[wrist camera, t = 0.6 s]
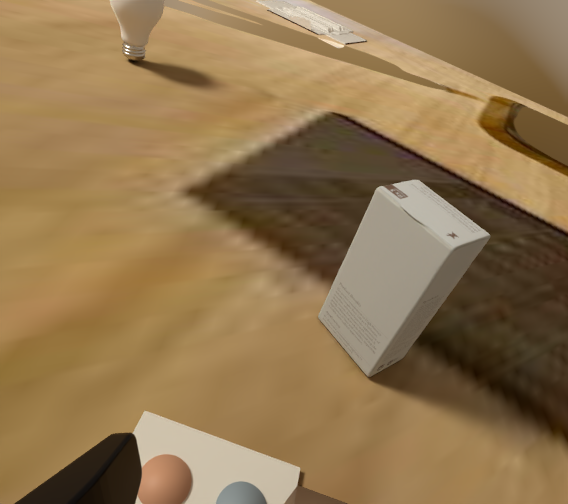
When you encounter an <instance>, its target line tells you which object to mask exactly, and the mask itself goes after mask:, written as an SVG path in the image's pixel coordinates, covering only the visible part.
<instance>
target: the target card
mask: <svg viewBox="0 0 568 504" xmlns="http://www.w3.org/2000/svg"><path fill="white" fill-rule="evenodd" d="M133 434H134V435H135V437H136V440H137V445H138V450H139V455H140V461H141V466H142V479H141V484H140V487H139V491H138V495H137V499H136V503H135V504H284V503H285V501H286V500H287V499H288V497H289V496H290V495H291V493H292V492H293V491H294V490H295V488H296V487H297V484H298V479H299V473H300V468H299V467H297V466H294V465H291V464H289V463H286V462H283V461H280V460H278V459H275V458H272V457H270V456H267V455H264V454H261V453H259V452H256V451H253V450H251V449H248V448H245V447H242V446H240V445H237V444H234V443H232V442H229V441H226V440H223V439H221V438H218V437H215V436H213V435H210V434H207V433H204V432H202V431H199V430H196V429H194V428H191V427H188V426H185V425H183V424H180V423H177V422H175V421H172V420H169V419H166V418H164V417H161V416H158V415H156V414H153V413H150V412H147V411H144V413H143V415H142V417H141V419H140V421H139V422H138V424H137V426H136V428H135V430H134V432H133Z"/></svg>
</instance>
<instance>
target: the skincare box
mask: <svg viewBox="0 0 568 504" xmlns="http://www.w3.org/2000/svg"><path fill="white" fill-rule="evenodd" d="M489 238H490V234H489V233H487V232H486V231H485V230H483V229H482V228H481V227H479V226H478V225H477V224H475V223H474V222H473V221H471V220H470V219H469V218H468V217H466V216H465V215H464V214H462V213H461V212H460V211H458V210H457V209H456V208H454V207H453V206H452V205H450V204H449V203H448V202H446V201H445V200H444V199H442V198H441V197H440V196H438V195H437V194H436V193H435V192H433V191H432V190H431V189H429V188H428V187H427V186H425V185H424V184H423V183H422V182H420V181H419V180H411V181H406V182H401V183H396V184H392V185H387V186H381V187H378V188H377V189H376V191H375V193H374V195H373V198H372V200H371V202H370V204H369V207H368V209H367V211H366V213H365V215H364V217H363V220H362V222H361V224H360V226H359V229H358V231H357V233H356V235H355V237H354V239H353V242H352V244H351V246H350V248H349V250H348V252H347V255H346V257H345V259H344V261H343V263H342V265H341V267H340V270H339V272H338V274H337V276H336V278H335V281H334V283H333V285H332V287H331V289H330V292H329V294H328V296H327V298H326V300H325V302H324V305H323V307H322V309H321V311H320V313H319V315H318V318H319V320H320V321H321V322H322V323H323V324H324V325H325V327H326V328H327V329H328V330H329V331H330V332H331V334H332V335H333V336H334V337H335V338H336V340H337V341H338V342H339V343H340V344H341V346H342V347H343V348H344V349H345V350H346V352H347V353H348V354H349V355H350V356H351V358H352V359H353V360H354V361H355V362H356V364H357V365H358V366H359V367H360V368H361V370H362V371H363V372H364V373H365V374H366V375H367V376H368V377H371V376H373V375H374V374H376V373H378V372H380V371H382V370H383V369H385V368H387V367H389V366H390V365H392V364H394V363H396V362H397V361H399V360H401V359H402V358H404V356H405V355H406V354H407V352H408V350H409V349H410V348H411V346H412V345H413V343H414V342H415V341H416V339H417V338H418V337H419V335H420V334H421V333H422V331H423V330H424V328H425V327H426V326H427V324H428V323H429V321H430V320H431V319H432V317H433V316H434V315H435V313H436V312H437V310H438V309H439V308H440V306H441V305H442V303H443V302H444V301H445V299H446V298H447V297H448V295H449V294H450V292H451V291H452V290H453V288H454V287H455V286H456V284H457V283H458V281H459V280H460V279H461V277H462V276H463V275H464V273H465V272H466V270H467V269H468V267H469V266H470V264H471V263H472V261H473V260H474V259H475V257H476V256H477V255H478V254H479V252H480V251H481V250H482V248H483V247H484V245H485V244H486V243H487V241H488V240H489Z"/></svg>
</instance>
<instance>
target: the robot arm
mask: <svg viewBox="0 0 568 504" xmlns="http://www.w3.org/2000/svg"><path fill="white" fill-rule="evenodd" d="M141 479H142V466H141V461H140V455H139V450H138V445H137V440H136V437H135V435H134V434H133V433H115V434H111V435H110V436H108V437H107V438H105V439H104V440H103V441H101V442H100V443H98V444H97V445H96V446H94V447H93V448H92V449H90V450H89V451H87V452H86V453H85V454H83V455H82V456H80V457H79V458H78V459H76V460H75V461H73V462H72V463H71V464H69V465H68V466H66V467H65V468H64V469H62V470H61V471H59V472H58V473H57V474H55V475H54V476H52V477H51V478H50V479H48V480H47V481H45V482H44V483H43V484H41V485H40V486H38V487H37V488H36V489H34V490H33V491H31V492H30V493H29V494H27V495H26V496H24V497H23V498H22V499H20V500H19V501H17V502H16V503H15V504H135V503H136V499H137V495H138V491H139V487H140V484H141Z"/></svg>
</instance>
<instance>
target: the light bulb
mask: <svg viewBox="0 0 568 504" xmlns="http://www.w3.org/2000/svg"><path fill="white" fill-rule="evenodd" d="M110 4H111V7H112V9H113V11H114V13H115V15H116V18H117V20H118V22H119V24H120V28H121V37H122V39H123V41H124V43H123V47H122V48H123V50H122V52H123V54H124V56H126V57H127V58H128V59H130V60H131V61H140V60H142V59H144V58H145V51H146V50H145V45H146V44H147V43H148V38H149V35H150V32H151V31H152V29H153V28H154V26H155V25H156V24H157V22H158V21H159V19H160V18H161V16H162V14H163V9H164V0H110Z"/></svg>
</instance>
